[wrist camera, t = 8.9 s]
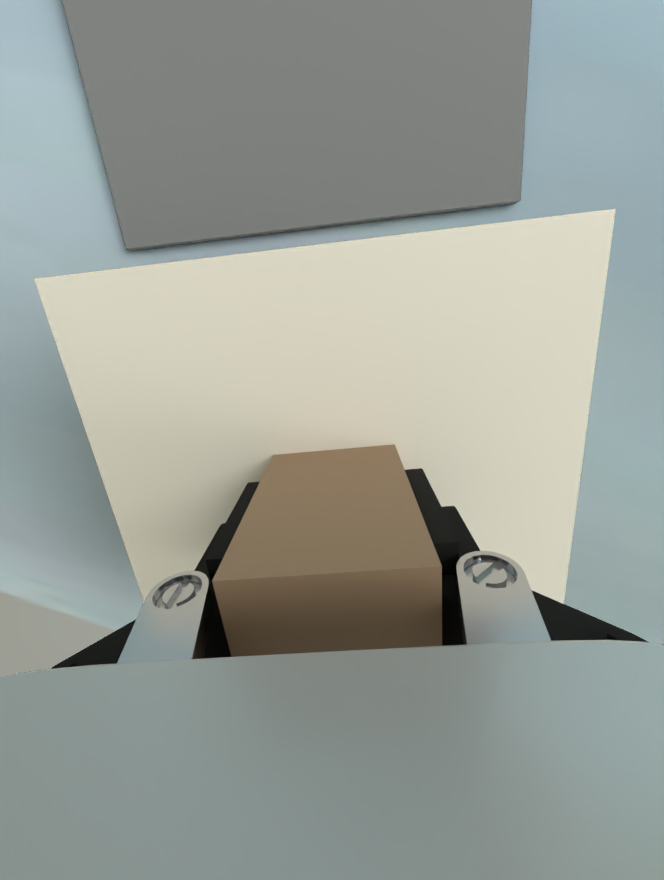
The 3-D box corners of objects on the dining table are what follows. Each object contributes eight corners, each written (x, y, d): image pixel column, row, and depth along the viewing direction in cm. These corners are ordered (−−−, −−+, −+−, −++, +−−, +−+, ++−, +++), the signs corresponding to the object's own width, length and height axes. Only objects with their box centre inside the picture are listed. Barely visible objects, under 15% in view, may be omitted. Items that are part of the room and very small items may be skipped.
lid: (595, 216, 10) (1010, 61, 4) (545, 646, 16) (687, 881, 9) (54, 280, 11) (-324, 242, 5) (179, 665, 17) (76, 890, 10)
